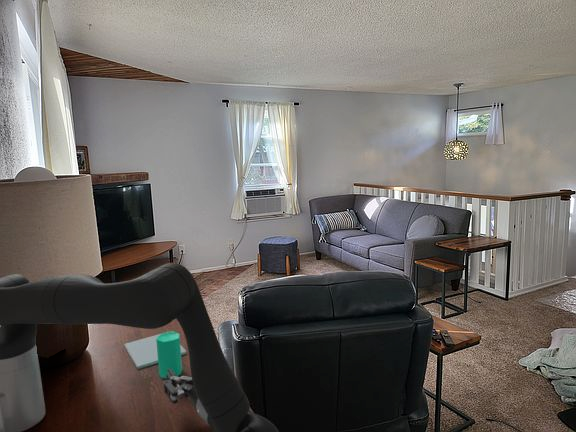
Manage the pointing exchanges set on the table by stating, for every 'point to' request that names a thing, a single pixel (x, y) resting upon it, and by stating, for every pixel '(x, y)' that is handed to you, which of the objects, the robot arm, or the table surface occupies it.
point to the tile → (145, 351)
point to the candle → (169, 353)
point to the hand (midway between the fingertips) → (186, 367)
